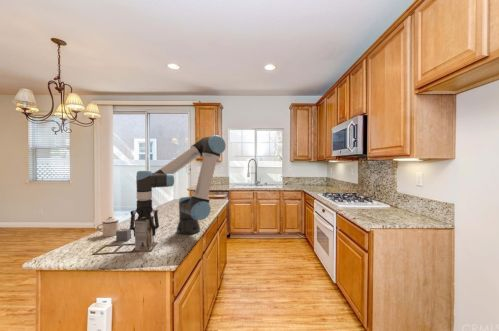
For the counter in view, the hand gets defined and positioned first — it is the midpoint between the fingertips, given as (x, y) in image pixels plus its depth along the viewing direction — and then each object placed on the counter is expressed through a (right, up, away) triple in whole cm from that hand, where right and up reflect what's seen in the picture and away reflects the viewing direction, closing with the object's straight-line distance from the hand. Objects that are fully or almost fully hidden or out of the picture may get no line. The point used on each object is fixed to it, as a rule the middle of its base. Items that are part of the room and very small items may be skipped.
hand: (144, 241), depth 125 cm
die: (-18, -3, +13) cm, 23 cm away
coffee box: (0, -3, 0) cm, 3 cm away
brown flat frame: (-9, -3, -1) cm, 9 cm away
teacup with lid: (-34, -3, +23) cm, 41 cm away
